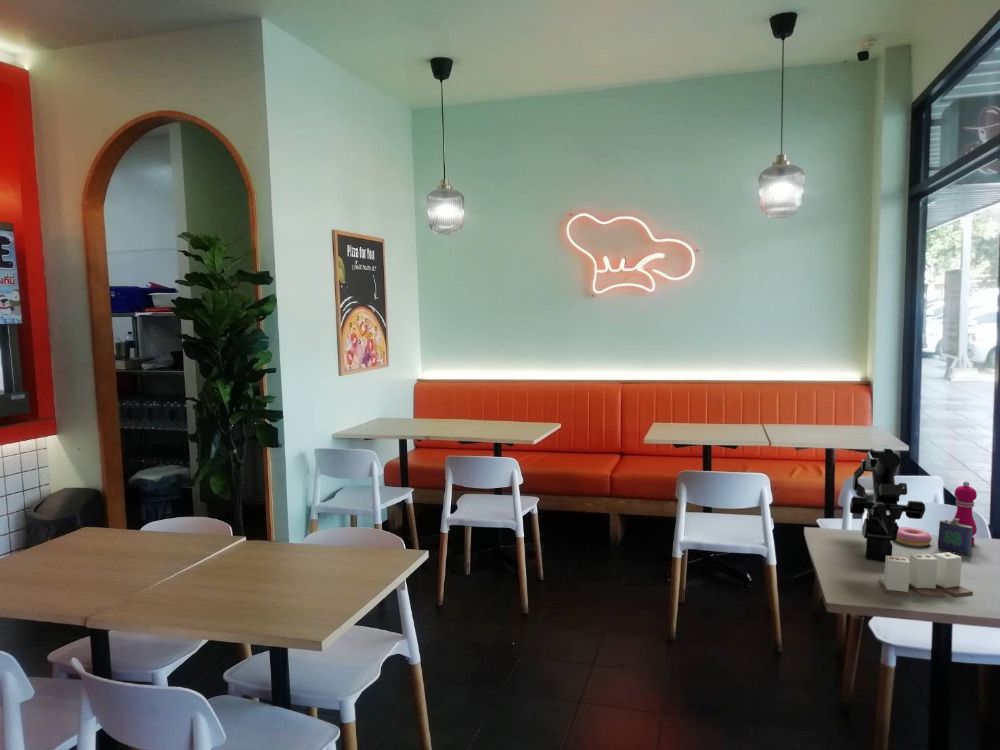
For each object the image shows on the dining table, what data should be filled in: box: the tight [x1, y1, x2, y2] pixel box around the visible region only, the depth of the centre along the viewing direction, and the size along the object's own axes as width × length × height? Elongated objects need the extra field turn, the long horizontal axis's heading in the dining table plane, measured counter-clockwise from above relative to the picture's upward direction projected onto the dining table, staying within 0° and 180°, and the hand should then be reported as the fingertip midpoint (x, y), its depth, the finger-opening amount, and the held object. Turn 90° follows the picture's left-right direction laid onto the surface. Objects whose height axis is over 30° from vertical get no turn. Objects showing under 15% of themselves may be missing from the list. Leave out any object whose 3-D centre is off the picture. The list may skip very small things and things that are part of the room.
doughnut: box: [895, 526, 933, 547], centre depth 230 cm, size 11×11×4 cm
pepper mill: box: [951, 480, 978, 545], centre depth 230 cm, size 7×7×20 cm
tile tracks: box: [878, 578, 974, 598], centre depth 192 cm, size 22×16×1 cm
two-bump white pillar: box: [909, 553, 937, 588], centre depth 192 cm, size 4×5×8 cm
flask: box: [937, 517, 973, 556], centre depth 221 cm, size 9×3×11 cm, turn 37°
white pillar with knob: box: [933, 551, 963, 588], centre depth 192 cm, size 4×5×8 cm
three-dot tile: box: [884, 555, 910, 592], centre depth 190 cm, size 4×5×8 cm
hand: (889, 534), depth 200 cm, fingers closed
